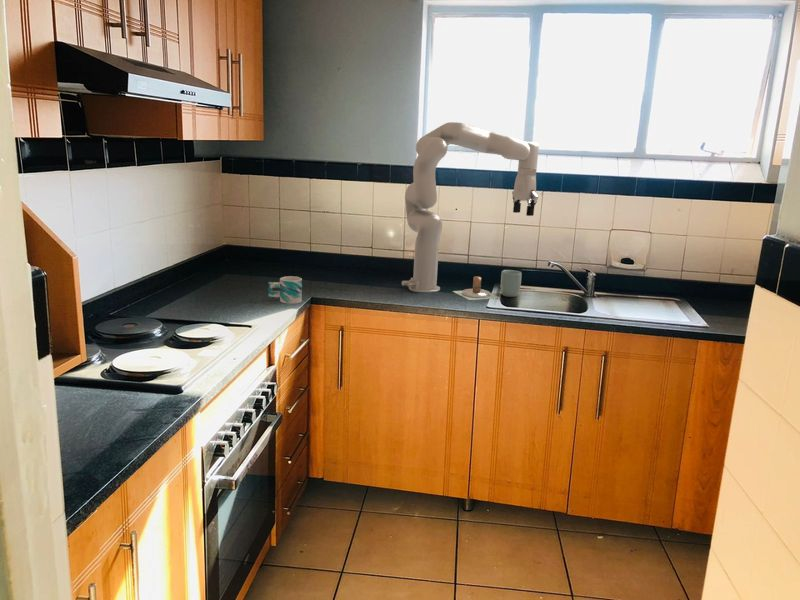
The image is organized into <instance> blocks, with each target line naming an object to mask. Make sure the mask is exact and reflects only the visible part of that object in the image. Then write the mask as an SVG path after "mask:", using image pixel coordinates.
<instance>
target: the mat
mask: <svg viewBox="0 0 800 600" xmlns="http://www.w3.org/2000/svg"><path fill="white" fill-rule="evenodd" d="M481 289H482V288H481ZM482 290H484V289H482ZM462 291H463V290H453V291H451V292H452V293H455V294H456V295H459V296H460V297H463V298H465V299H466V300H469V301H476V300H488V299H489V300H490V299H493V300H494V299H501V297H500V296H498V295H496V294H493V293H492V292H490V297H486V298H473V297H468V296H465V295H463V294H462Z"/></svg>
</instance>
